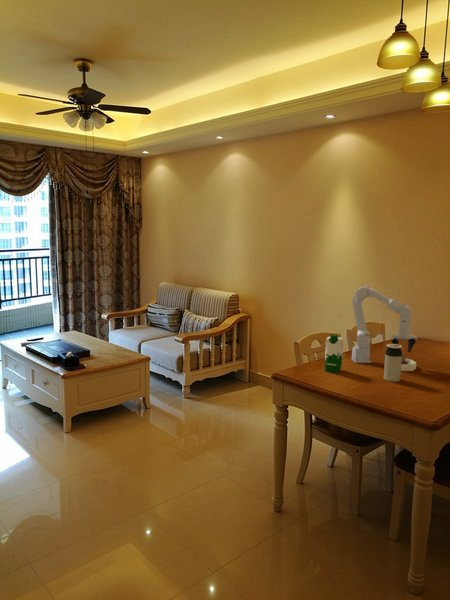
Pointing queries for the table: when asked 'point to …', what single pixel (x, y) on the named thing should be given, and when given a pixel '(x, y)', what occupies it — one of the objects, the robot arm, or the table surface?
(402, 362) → the wick
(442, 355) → the table surface
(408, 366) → the white low round dish
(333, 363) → the milk carton
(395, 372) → the travel mug
